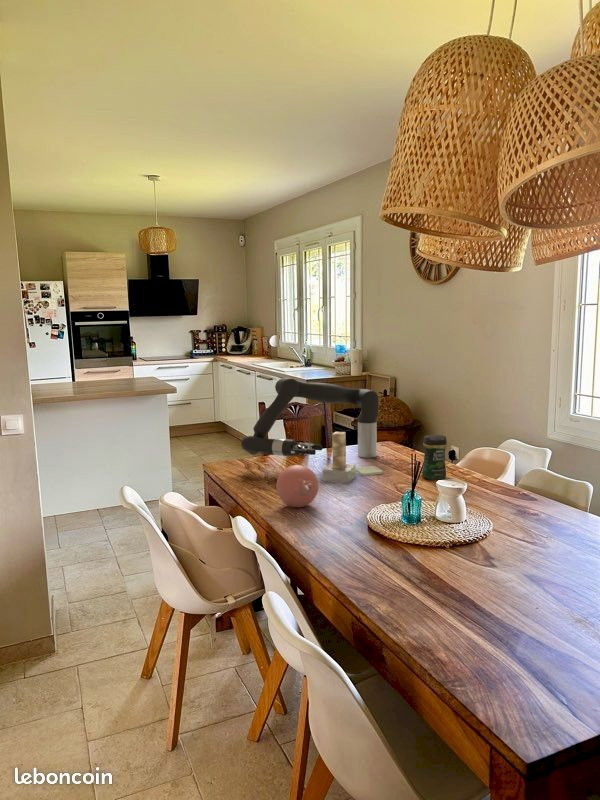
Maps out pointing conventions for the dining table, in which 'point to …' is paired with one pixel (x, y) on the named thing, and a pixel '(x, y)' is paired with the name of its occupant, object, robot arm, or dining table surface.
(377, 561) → the dining table surface
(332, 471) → the block
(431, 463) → the coffee jar
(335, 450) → the beech peg
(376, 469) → the sage mat
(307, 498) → the pink rubber ball
